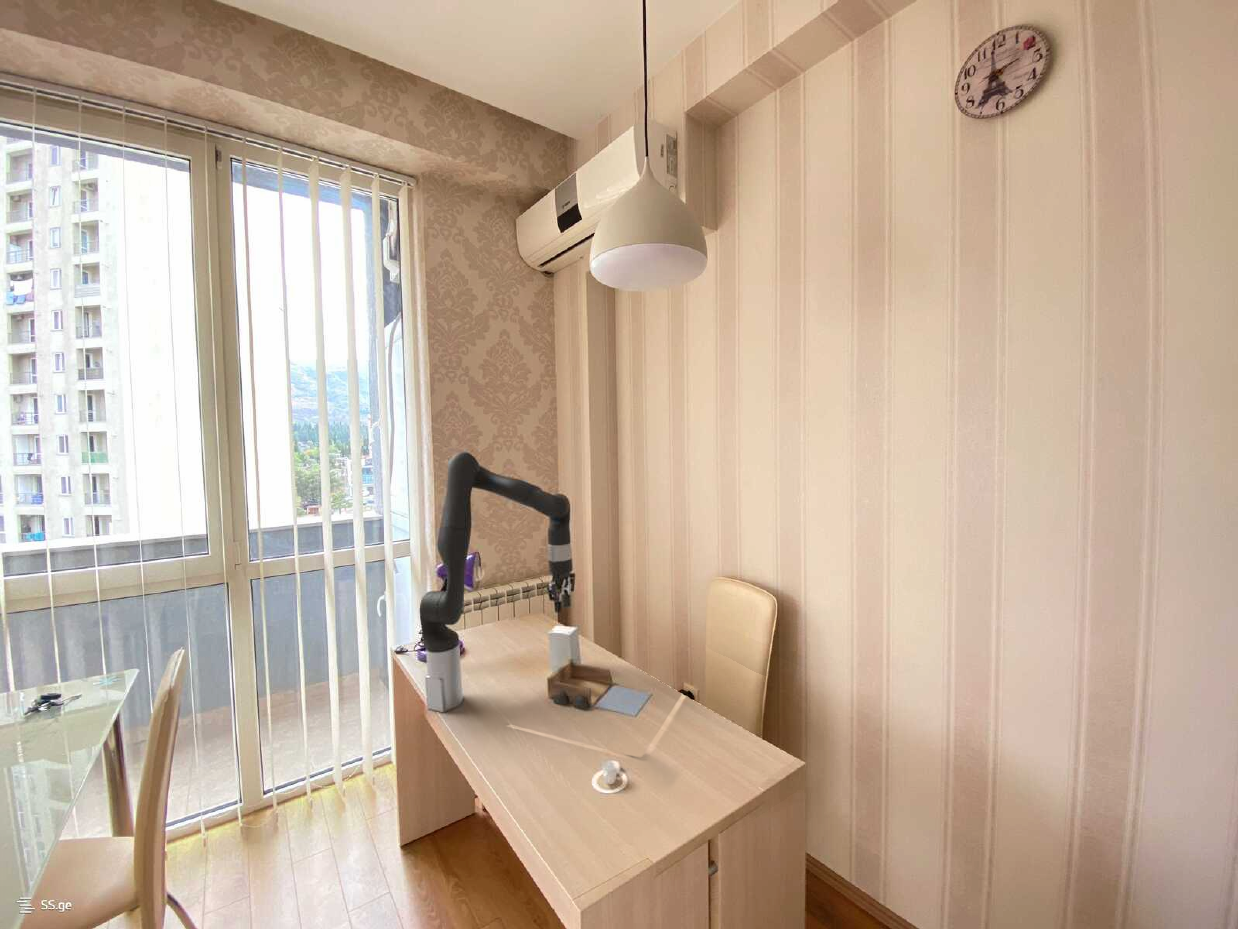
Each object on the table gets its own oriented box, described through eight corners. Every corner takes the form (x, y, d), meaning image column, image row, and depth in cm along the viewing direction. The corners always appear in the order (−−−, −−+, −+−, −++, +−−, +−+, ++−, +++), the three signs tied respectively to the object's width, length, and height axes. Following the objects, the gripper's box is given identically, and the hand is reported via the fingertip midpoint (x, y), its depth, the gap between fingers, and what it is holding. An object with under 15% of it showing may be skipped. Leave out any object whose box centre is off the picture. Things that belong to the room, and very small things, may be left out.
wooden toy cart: (587, 714, 140) (586, 690, 139) (545, 704, 146) (543, 681, 145) (613, 686, 155) (612, 664, 154) (574, 678, 161) (572, 656, 160)
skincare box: (581, 671, 165) (579, 627, 164) (573, 680, 160) (570, 634, 158) (559, 667, 168) (557, 624, 167) (550, 676, 163) (547, 630, 162)
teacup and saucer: (610, 764, 119) (609, 747, 119) (637, 778, 114) (636, 760, 114) (584, 785, 113) (583, 768, 112) (611, 801, 108) (611, 782, 107)
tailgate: (595, 709, 141) (635, 720, 136) (595, 705, 141) (635, 716, 136) (614, 689, 152) (651, 698, 147) (614, 685, 152) (651, 694, 147)
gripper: (562, 551, 169) (564, 601, 171) (537, 562, 156) (540, 615, 158) (581, 552, 166) (584, 603, 167) (558, 563, 153) (561, 618, 154)
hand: (562, 609), depth 162 cm, fingers open, 4 cm apart
